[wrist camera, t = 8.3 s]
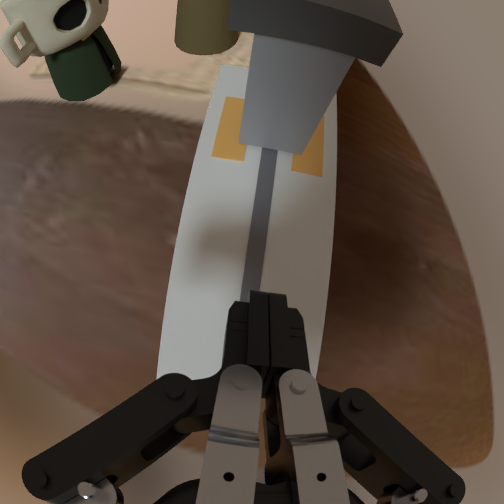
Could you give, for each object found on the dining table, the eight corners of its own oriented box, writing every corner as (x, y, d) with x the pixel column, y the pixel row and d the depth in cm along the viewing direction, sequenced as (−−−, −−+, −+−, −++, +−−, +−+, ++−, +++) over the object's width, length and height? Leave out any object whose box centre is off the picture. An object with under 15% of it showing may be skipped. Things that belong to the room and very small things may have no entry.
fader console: (303, 389, 17) (312, 398, 15) (162, 372, 17) (156, 380, 15) (328, 101, 21) (336, 86, 19) (221, 80, 21) (221, 63, 19)
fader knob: (316, 162, 18) (403, 34, 7) (221, 144, 17) (230, -12, 6) (318, 118, 18) (385, -6, 7) (231, 101, 18) (247, -42, 7)
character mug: (91, 133, 19) (18, 11, 6) (34, 124, 18) (-38, 33, 6) (150, 44, 21) (132, -68, 8) (93, 43, 21) (61, -51, 8)
